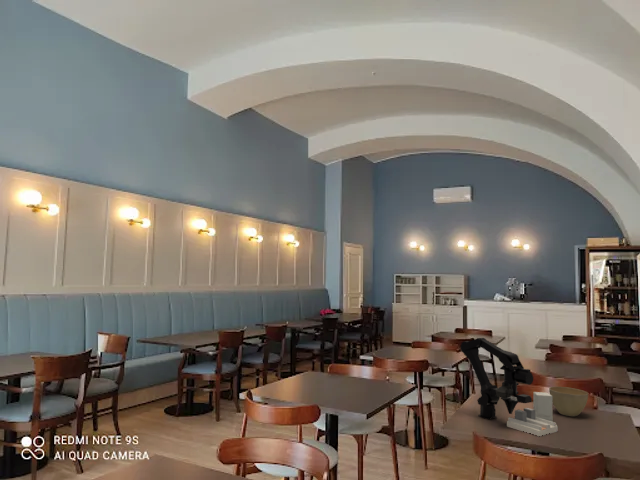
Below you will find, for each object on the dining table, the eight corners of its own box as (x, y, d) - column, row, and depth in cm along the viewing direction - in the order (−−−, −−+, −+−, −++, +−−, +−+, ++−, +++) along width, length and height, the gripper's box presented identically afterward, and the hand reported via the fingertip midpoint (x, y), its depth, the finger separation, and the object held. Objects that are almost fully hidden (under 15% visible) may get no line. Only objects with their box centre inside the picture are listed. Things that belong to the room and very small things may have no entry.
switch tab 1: (514, 421, 221) (514, 410, 222) (518, 420, 223) (518, 409, 224) (522, 423, 218) (522, 412, 218) (526, 422, 220) (526, 411, 220)
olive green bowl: (588, 421, 234) (588, 396, 235) (547, 415, 243) (547, 391, 244) (588, 413, 250) (588, 389, 251) (550, 407, 259) (550, 384, 260)
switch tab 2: (523, 418, 225) (523, 408, 226) (527, 417, 227) (527, 407, 227) (531, 421, 222) (531, 410, 222) (535, 420, 224) (535, 409, 224)
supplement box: (552, 422, 231) (552, 396, 232) (536, 421, 232) (536, 394, 233) (548, 418, 238) (548, 392, 239) (533, 416, 239) (533, 391, 240)
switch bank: (506, 426, 222) (506, 417, 222) (525, 421, 230) (525, 413, 231) (539, 436, 209) (539, 427, 209) (557, 431, 217) (557, 422, 217)
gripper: (483, 378, 230) (483, 411, 228) (518, 386, 214) (518, 421, 213) (497, 376, 236) (497, 408, 235) (532, 383, 220) (532, 418, 219)
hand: (510, 413), depth 225 cm, fingers closed
